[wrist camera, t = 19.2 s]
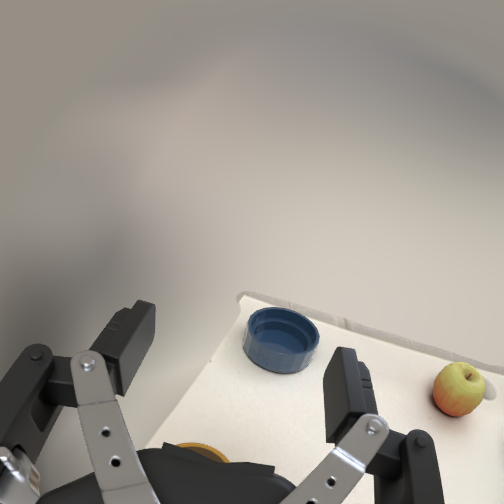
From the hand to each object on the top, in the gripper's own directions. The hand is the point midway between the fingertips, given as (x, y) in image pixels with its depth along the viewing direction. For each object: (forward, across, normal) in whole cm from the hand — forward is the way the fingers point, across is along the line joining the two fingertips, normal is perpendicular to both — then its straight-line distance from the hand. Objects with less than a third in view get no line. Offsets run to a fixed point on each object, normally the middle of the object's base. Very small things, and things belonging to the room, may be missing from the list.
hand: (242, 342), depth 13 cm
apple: (+21, -38, +26) cm, 50 cm away
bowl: (+29, -7, +26) cm, 39 cm away
